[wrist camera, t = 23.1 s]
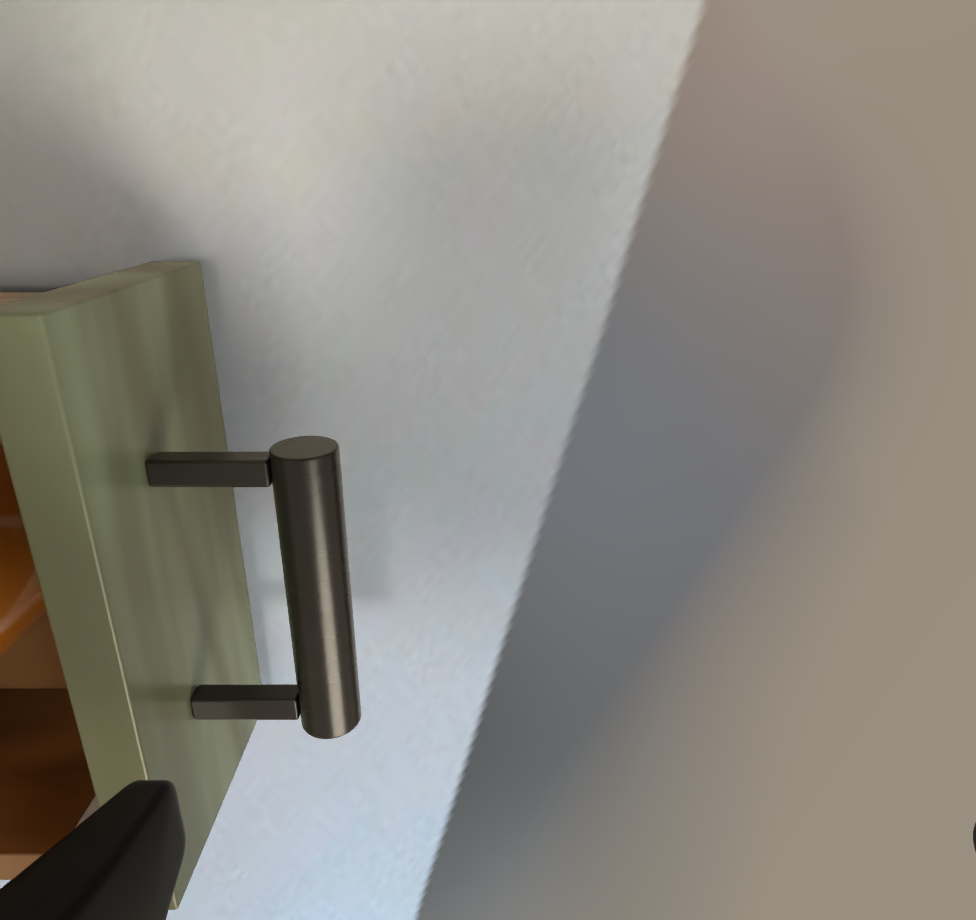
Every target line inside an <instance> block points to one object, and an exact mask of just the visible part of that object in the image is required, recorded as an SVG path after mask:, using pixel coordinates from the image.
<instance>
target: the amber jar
mask: <svg viewBox="0 0 976 920" xmlns="http://www.w3.org/2000/svg"><path fill="white" fill-rule="evenodd" d="M45 612H46V608H45V604H44V600H43V596H42V593H41V589H40V585H39V581H38V578H37V574H36V570H35V567H34V563H33V559H32V555H31V552H30V548H29V544H28V540H27V537H26V533H25V529H24V525H23V522H22V518H21V514H20V510H19V507H18V503H17V499H16V495H15V492H14V488H13V484H12V480H11V477H10V473H9V469H8V465H7V462H6V458H5V454H4V450H3V447H2V446H1V445H0V657H1V656H2V655H3V654H4V653H5V652H6V651H7V650H8V649H9V648H10V647H11V646H12V645H13V644H14V643H15V642H16V641H17V640H18V639H19V638H20V637H21V636H22V635H23V634H24V633H25V632H26V631H27V630H28V629H29V628H30V627H31V626H32V625H33V624H34V623H35V622H36V621H37V620H38V619H39V618H40V617H41V616H42V615H43V614H44V613H45Z"/></svg>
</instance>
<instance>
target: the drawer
mask: <svg viewBox="0 0 976 920" xmlns="http://www.w3.org/2000/svg"><path fill="white" fill-rule="evenodd" d="M0 445H1V446H2V447H3V450H4V454H5V458H6V462H7V465H8V469H9V473H10V477H11V480H12V484H13V488H14V492H15V495H16V499H17V503H18V507H19V510H20V514H21V518H22V522H23V525H24V529H25V533H26V537H27V540H28V544H29V548H30V552H31V555H32V559H33V563H34V567H35V570H36V574H37V578H38V581H39V585H40V589H41V593H42V596H43V600H44V604H45V608H46V612H45V613H44V614H43V615H42V616H41V617H40V618H39V619H38V620H37V621H36V622H35V623H34V624H33V625H32V626H31V627H30V628H29V629H28V630H27V631H26V632H25V633H24V634H23V635H22V636H21V637H20V638H19V639H18V640H17V641H16V642H15V643H14V644H13V645H12V646H11V647H10V648H9V649H8V650H7V651H6V652H5V653H4V654H3V655H2V656H1V657H0V880H12V879H13V878H15V877H16V876H17V875H18V874H19V873H21V872H22V871H23V870H24V869H26V868H27V867H28V866H29V865H30V864H32V863H33V862H34V861H35V860H36V859H38V858H39V857H40V856H41V855H43V854H44V853H45V852H46V851H47V850H49V849H50V848H51V847H52V846H54V845H55V844H56V843H57V842H58V841H60V840H61V839H62V838H63V837H65V836H66V835H67V834H68V833H69V832H71V831H72V830H73V829H74V828H76V827H77V826H78V825H79V824H80V823H82V822H83V821H84V820H85V819H87V818H88V817H89V816H90V815H91V814H93V813H94V812H95V811H96V810H97V809H99V808H100V807H101V806H102V805H104V804H105V803H106V802H107V801H108V800H110V799H111V798H112V797H113V796H115V795H116V794H117V793H118V792H119V791H121V790H122V789H123V788H124V787H126V786H127V785H128V784H130V783H132V782H134V781H137V780H168V781H171V782H172V783H173V784H174V786H175V788H176V791H177V796H178V800H179V805H180V810H181V814H182V819H183V824H184V828H185V834H186V846H185V853H184V858H183V861H182V865H181V868H180V872H179V875H178V879H177V882H176V886H175V889H174V893H173V896H172V899H171V903H170V906H169V910H175V909H177V908H178V907H179V905H180V902H181V900H182V897H183V895H184V893H185V890H186V888H187V886H188V883H189V881H190V878H191V876H192V874H193V871H194V869H195V867H196V864H197V862H198V859H199V857H200V855H201V852H202V850H203V848H204V845H205V843H206V840H207V838H208V836H209V833H210V831H211V829H212V826H213V824H214V821H215V819H216V817H217V814H218V812H219V810H220V807H221V805H222V802H223V800H224V798H225V795H226V793H227V791H228V788H229V786H230V783H231V781H232V779H233V776H234V774H235V772H236V769H237V767H238V764H239V762H240V760H241V757H242V755H243V752H244V750H245V748H246V745H247V743H248V741H249V738H250V736H251V733H252V731H253V729H254V726H255V724H256V722H257V720H297V719H298V718H299V716H300V713H301V721H302V726H303V728H304V730H305V731H306V732H307V733H308V734H309V735H311V736H313V737H316V738H320V739H332V738H337V737H340V736H343V735H345V734H347V733H349V732H350V731H351V730H353V729H354V728H355V727H356V725H357V724H358V722H359V720H360V718H361V706H360V694H359V682H358V670H357V658H356V646H355V634H354V621H353V609H352V597H351V585H350V573H349V561H348V549H347V537H346V525H345V513H344V500H343V488H342V476H341V464H340V452H339V445H338V443H337V442H336V441H335V440H333V439H331V438H327V437H321V436H300V437H294V438H289V439H286V440H282V441H280V442H278V443H276V444H274V445H273V446H272V447H271V448H270V450H269V452H228V451H227V444H226V437H225V430H224V424H223V417H222V410H221V403H220V396H219V389H218V382H217V375H216V368H215V361H214V354H213V347H212V340H211V333H210V326H209V319H208V313H207V306H206V299H205V292H204V285H203V278H202V271H201V264H200V262H198V261H153V262H149V263H146V264H142V265H139V266H135V267H131V268H128V269H124V270H121V271H117V272H114V273H110V274H107V275H103V276H99V277H96V278H92V279H89V280H85V281H82V282H78V283H74V284H71V285H67V286H64V287H60V288H57V289H53V290H50V291H46V292H23V293H0ZM272 482H273V491H274V499H275V507H276V515H277V523H278V532H279V540H280V548H281V556H282V565H283V573H284V581H285V589H286V598H287V606H288V614H289V622H290V630H291V639H292V647H293V655H294V663H295V672H296V680H297V685H261V680H260V673H259V666H258V659H257V652H256V646H255V639H254V632H253V625H252V618H251V611H250V604H249V597H248V590H247V583H246V576H245V569H244V562H243V555H242V548H241V541H240V535H239V528H238V521H237V514H236V507H235V500H234V493H233V487H269V486H270V485H271V484H272Z"/></svg>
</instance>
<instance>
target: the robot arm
mask: <svg viewBox="0 0 976 920" xmlns="http://www.w3.org/2000/svg"><path fill="white" fill-rule="evenodd" d="M973 841H974V847H975V851H976V823H975V826H974V831H973ZM185 846H186V834H185V828H184V824H183V819H182V814H181V810H180V805H179V800H178V796H177V791H176V788H175V786H174V784H173V783H172V782H171V781H168V780H137V781H134V782H132V783H130V784H128V785H127V786H126V787H124V788H123V789H122V790H121V791H119V792H118V793H117V794H116V795H115V796H113V797H112V798H111V799H110V800H108V801H107V802H106V803H105V804H104V805H102V806H101V807H100V808H99V809H97V810H96V811H95V812H94V813H93V814H91V815H90V816H89V817H88V818H87V819H85V820H84V821H83V822H82V823H80V824H79V825H78V826H77V827H76V828H74V829H73V830H72V831H71V832H69V833H68V834H67V835H66V836H65V837H63V838H62V839H61V840H60V841H58V842H57V843H56V844H55V845H54V846H52V847H51V848H50V849H49V850H47V851H46V852H45V853H44V854H43V855H41V856H40V857H39V858H38V859H36V860H35V861H34V862H33V863H32V864H30V865H29V866H28V867H27V868H26V869H24V870H23V871H22V872H21V873H19V874H18V875H17V876H16V877H15V878H13V879H12V880H11V881H10V882H8V883H7V884H6V885H5V886H4V887H2V888H1V889H0V920H166V917H167V913H168V910H169V906H170V903H171V899H172V896H173V893H174V889H175V886H176V882H177V879H178V875H179V872H180V868H181V865H182V861H183V858H184V853H185Z"/></svg>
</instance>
